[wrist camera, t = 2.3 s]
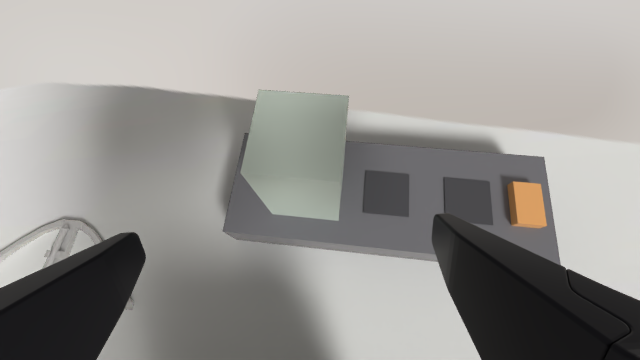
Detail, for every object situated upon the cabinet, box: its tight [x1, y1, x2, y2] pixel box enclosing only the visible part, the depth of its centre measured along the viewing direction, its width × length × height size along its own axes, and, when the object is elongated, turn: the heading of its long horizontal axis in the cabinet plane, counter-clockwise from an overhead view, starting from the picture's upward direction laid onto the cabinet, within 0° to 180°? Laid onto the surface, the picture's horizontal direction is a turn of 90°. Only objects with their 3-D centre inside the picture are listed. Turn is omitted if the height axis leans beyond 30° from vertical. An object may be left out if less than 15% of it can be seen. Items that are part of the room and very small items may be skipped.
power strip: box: [223, 133, 560, 265], centre depth 21 cm, size 20×7×4 cm, turn 83°
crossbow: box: [0, 219, 134, 310], centre depth 20 cm, size 16×13×2 cm
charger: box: [240, 90, 349, 221], centre depth 18 cm, size 4×4×10 cm
